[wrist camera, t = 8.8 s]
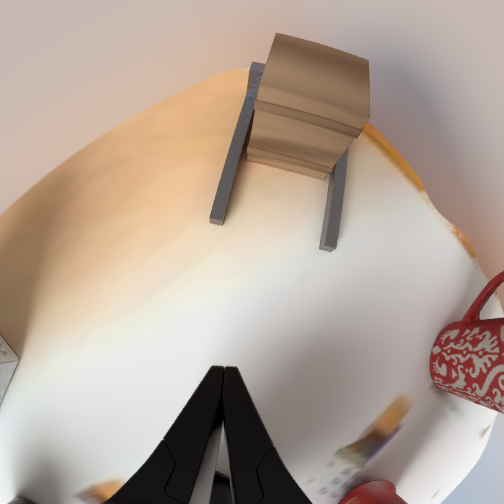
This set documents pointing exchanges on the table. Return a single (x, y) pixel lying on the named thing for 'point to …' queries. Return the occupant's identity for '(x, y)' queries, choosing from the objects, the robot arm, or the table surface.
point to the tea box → (6, 366)
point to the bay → (234, 156)
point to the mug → (472, 355)
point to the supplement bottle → (20, 501)
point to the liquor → (373, 494)
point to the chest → (308, 106)
